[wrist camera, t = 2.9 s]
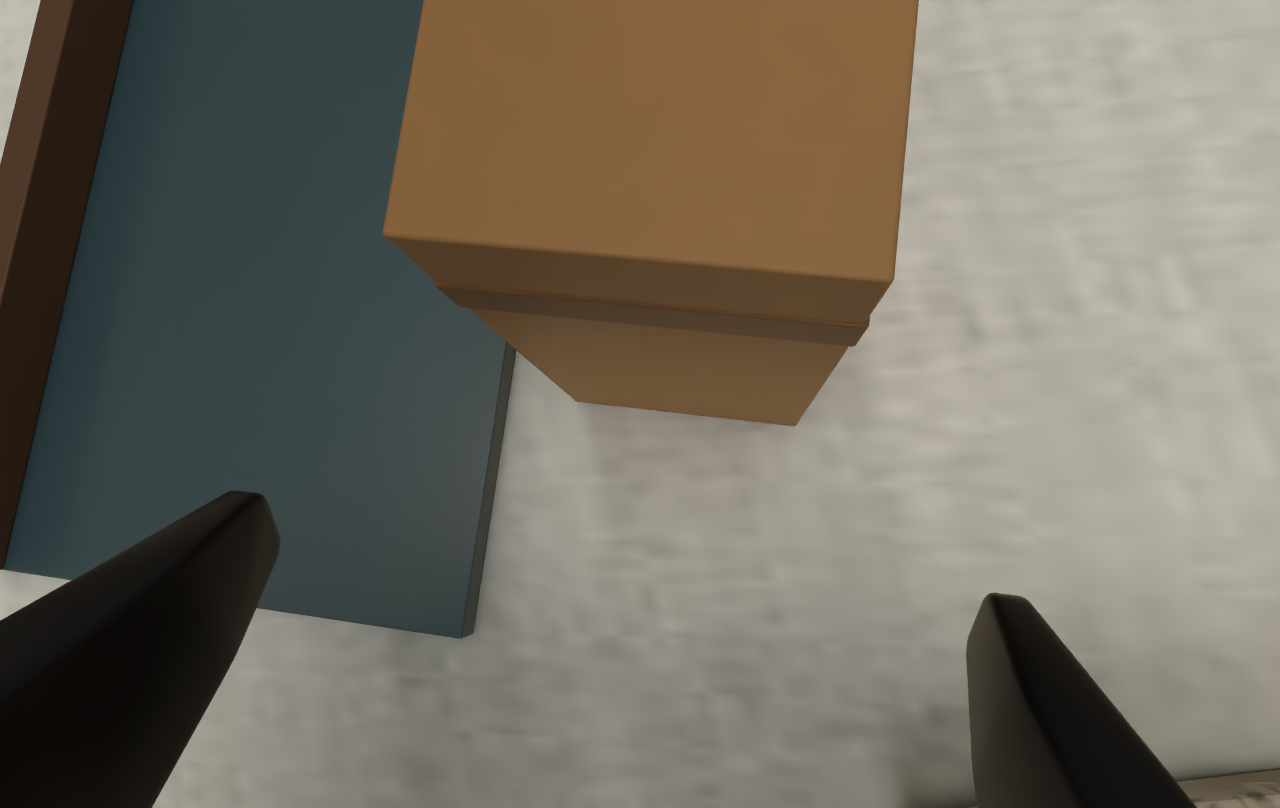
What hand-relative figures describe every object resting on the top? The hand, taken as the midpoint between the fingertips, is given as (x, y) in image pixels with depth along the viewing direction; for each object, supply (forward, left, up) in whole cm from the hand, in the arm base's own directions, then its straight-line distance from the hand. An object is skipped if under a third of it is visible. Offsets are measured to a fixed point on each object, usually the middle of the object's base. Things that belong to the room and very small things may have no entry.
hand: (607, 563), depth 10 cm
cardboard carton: (+5, +4, -12) cm, 13 cm away
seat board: (-2, +14, -12) cm, 18 cm away
